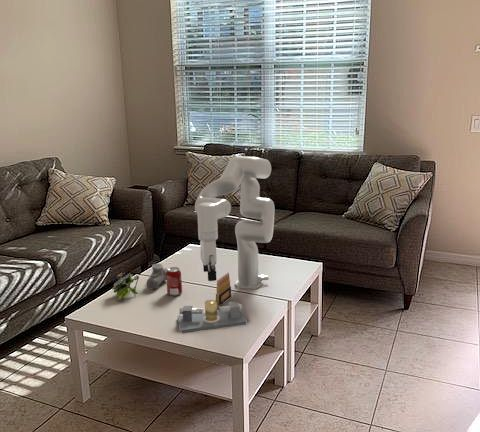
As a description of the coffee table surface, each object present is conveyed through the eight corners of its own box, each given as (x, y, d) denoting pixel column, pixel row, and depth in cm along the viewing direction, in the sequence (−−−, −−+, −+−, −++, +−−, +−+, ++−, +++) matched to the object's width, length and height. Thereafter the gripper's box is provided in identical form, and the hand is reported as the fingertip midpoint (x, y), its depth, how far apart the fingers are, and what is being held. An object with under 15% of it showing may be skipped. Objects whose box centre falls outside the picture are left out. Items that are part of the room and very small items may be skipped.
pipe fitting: (154, 278, 250) (153, 259, 246) (169, 281, 248) (169, 262, 244) (143, 290, 240) (142, 271, 235) (159, 293, 238) (158, 274, 233)
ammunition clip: (219, 306, 220) (218, 280, 217) (216, 305, 221) (215, 279, 218) (231, 296, 229) (230, 271, 226) (227, 295, 230) (227, 271, 227)
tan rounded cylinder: (204, 316, 207) (203, 300, 206) (216, 314, 209) (215, 299, 207) (206, 321, 203) (206, 305, 201) (218, 320, 204) (217, 304, 202)
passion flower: (122, 305, 237) (127, 276, 241) (143, 305, 231) (148, 276, 236) (104, 299, 226) (109, 270, 231) (125, 299, 221) (130, 269, 225)
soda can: (179, 297, 230) (178, 272, 226) (165, 296, 231) (163, 271, 228) (184, 291, 236) (182, 266, 233) (170, 290, 237) (168, 266, 234)
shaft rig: (239, 311, 215) (238, 297, 213) (246, 324, 203) (246, 310, 202) (177, 319, 209) (176, 305, 207) (181, 333, 197) (180, 318, 196)
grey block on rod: (203, 316, 208) (202, 305, 207) (202, 321, 204) (201, 310, 202) (181, 316, 208) (180, 305, 207) (179, 321, 204) (179, 310, 202)
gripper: (194, 229, 203) (196, 269, 208) (202, 242, 187) (204, 285, 192) (213, 227, 205) (214, 266, 210) (222, 240, 189) (223, 283, 193)
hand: (209, 275), depth 201 cm, fingers open, 9 cm apart
